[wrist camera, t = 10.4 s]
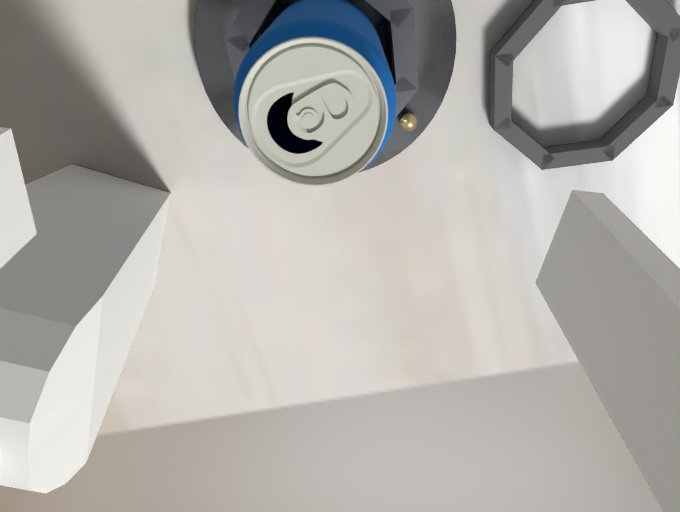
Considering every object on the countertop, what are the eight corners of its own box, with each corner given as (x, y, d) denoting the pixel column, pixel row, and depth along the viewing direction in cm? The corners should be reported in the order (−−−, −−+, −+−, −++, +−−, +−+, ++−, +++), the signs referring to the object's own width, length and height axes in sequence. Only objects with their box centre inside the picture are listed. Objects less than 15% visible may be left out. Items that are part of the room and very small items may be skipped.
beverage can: (246, 31, 28) (190, 83, 18) (346, -33, 26) (347, -16, 16) (305, 130, 31) (286, 221, 21) (399, 78, 30) (427, 150, 19)
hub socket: (153, 80, 30) (135, 93, 28) (289, -180, 24) (282, -195, 21) (350, 211, 35) (350, 234, 32) (508, 24, 29) (525, 33, 26)
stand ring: (453, 94, 31) (457, 99, 30) (592, -70, 26) (602, -71, 25) (566, 188, 34) (573, 196, 33) (708, 57, 29) (721, 61, 28)
